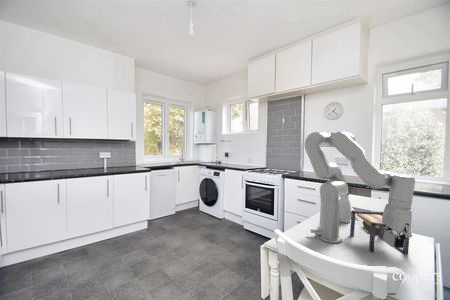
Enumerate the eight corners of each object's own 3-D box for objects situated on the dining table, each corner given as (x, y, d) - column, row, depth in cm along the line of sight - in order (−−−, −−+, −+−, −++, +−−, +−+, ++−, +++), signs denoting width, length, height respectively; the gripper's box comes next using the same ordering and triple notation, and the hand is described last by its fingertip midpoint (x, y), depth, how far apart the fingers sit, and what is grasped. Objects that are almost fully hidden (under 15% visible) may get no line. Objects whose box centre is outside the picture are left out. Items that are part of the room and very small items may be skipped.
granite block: (391, 247, 84) (393, 235, 83) (383, 240, 89) (384, 230, 88) (403, 248, 84) (405, 236, 83) (394, 241, 89) (396, 231, 88)
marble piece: (402, 240, 110) (403, 233, 110) (372, 236, 113) (373, 229, 113) (385, 227, 126) (386, 221, 126) (359, 224, 129) (360, 218, 129)
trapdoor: (372, 225, 97) (373, 219, 97) (356, 215, 110) (357, 210, 110) (406, 227, 97) (406, 221, 97) (386, 217, 110) (386, 212, 110)
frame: (370, 252, 96) (372, 223, 95) (350, 235, 113) (351, 210, 113) (408, 254, 95) (410, 224, 94) (381, 236, 112) (383, 211, 112)
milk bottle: (351, 224, 129) (353, 194, 128) (337, 222, 132) (339, 192, 131) (348, 219, 136) (350, 191, 135) (336, 218, 139) (337, 190, 138)
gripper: (376, 196, 93) (371, 232, 95) (407, 210, 76) (400, 254, 78) (392, 197, 93) (387, 234, 95) (427, 212, 76) (420, 256, 78)
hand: (393, 243), depth 86 cm, fingers closed on granite block, 5 cm apart
